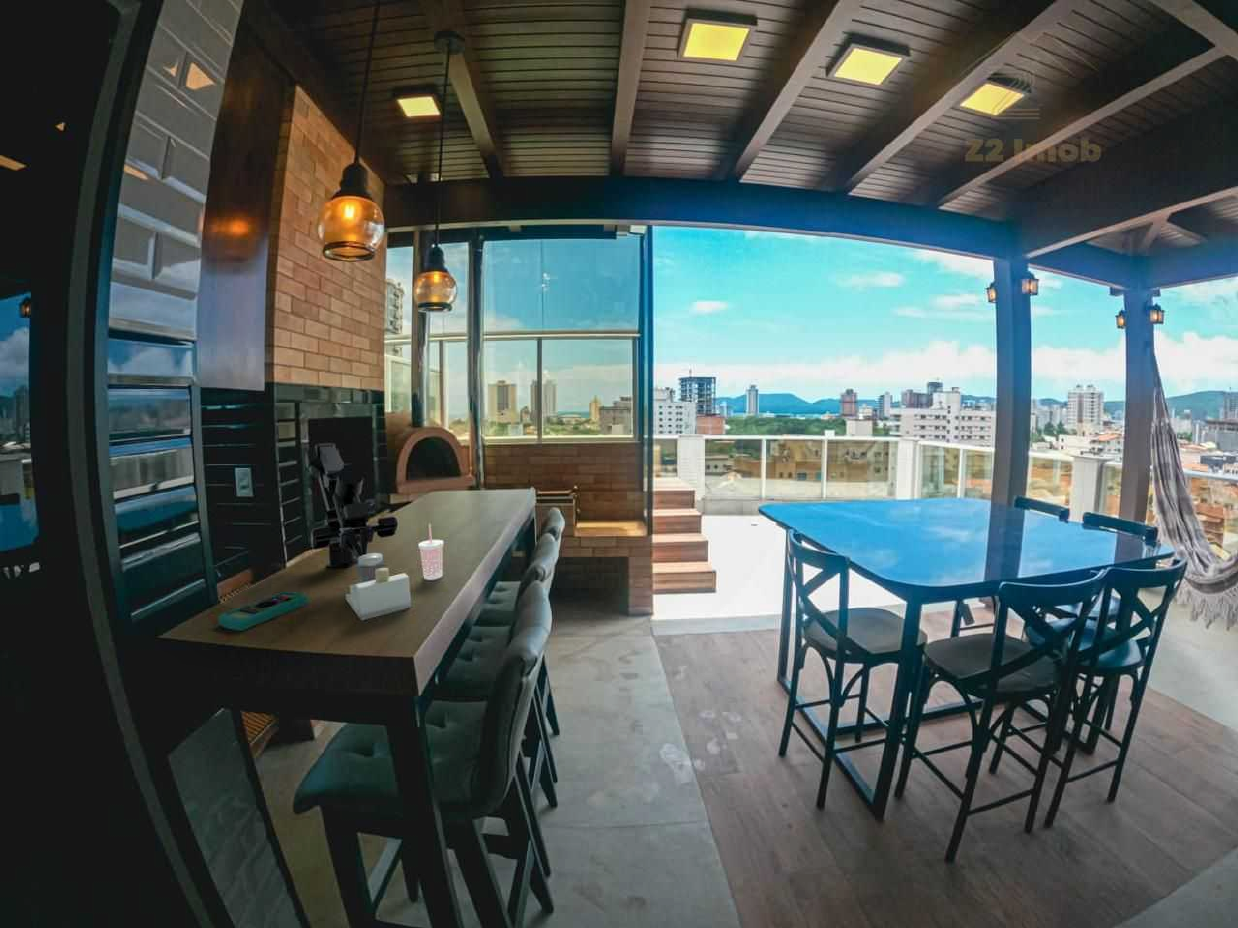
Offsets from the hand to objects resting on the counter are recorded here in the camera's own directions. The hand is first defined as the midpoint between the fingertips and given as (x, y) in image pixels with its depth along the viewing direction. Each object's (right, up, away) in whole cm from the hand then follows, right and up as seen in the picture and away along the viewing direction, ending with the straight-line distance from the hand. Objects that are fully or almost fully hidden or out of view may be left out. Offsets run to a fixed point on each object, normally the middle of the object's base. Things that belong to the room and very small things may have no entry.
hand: (363, 561), depth 118 cm
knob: (+5, -6, -5) cm, 9 cm away
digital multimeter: (-15, -10, -12) cm, 22 cm away
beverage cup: (+13, -6, +9) cm, 17 cm away
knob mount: (+7, -8, -7) cm, 13 cm away
